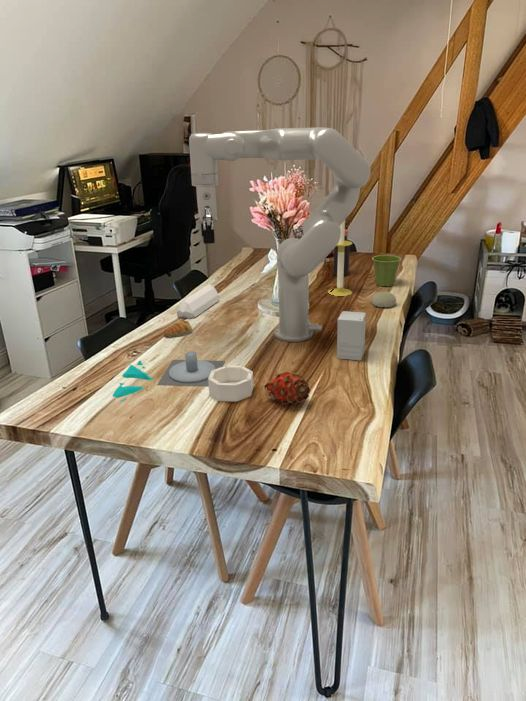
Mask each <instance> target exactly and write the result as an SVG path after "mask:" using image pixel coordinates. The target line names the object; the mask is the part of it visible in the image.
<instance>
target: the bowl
mask: <svg viewBox="0 0 526 701" xmlns="http://www.w3.org/2000/svg"><path fill="white" fill-rule="evenodd" d="M208 384H209V387H208V394H209V396H211V397H212V398H214V399H215V400H217V401H219V402H239V401H242V400H245V399H247V398H249V397H251V396H252V394H253V390H254V372H253V371H252V370H251V369H249V368H247V367H245V366H243V365H223V367H221V368H218V369H215V370H212V371H211V373H210V376H209V378H208Z"/></svg>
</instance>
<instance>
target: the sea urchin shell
mask: <svg viewBox="0 0 526 701" xmlns="http://www.w3.org/2000/svg"><path fill="white" fill-rule="evenodd" d="M370 301H371V304H372V305H373V306H374V307H376V306H377V308H383V307H385V308H387V307H389V308H391V307H393V306H395V305H396V303H397V297H396V296H395V294H393V293H392V292H390V291H385V290H383V291H382V290H381V291H378V292H375V293H374V294H373V295H372V296H371V300H370ZM387 309H388V308H387Z"/></svg>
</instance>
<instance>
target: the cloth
mask: <svg viewBox="0 0 526 701" xmlns="http://www.w3.org/2000/svg"><path fill="white" fill-rule="evenodd" d="M136 366H141V367H142V369H146V367H145V366H144V364H143V363H142V360H139V361H137V363H136ZM136 366H135V365H132V364H130V365H129V367H128V368H127V369H126V371H124V373H123V374H122V378H126V379H138V380H146V381H151V380H154V379H155V377H150V376H149V375H147V373H146V372H144V371H142V370H141V369H139V368H137V367H136ZM125 384H126V383H124V382H119V386H118V387H117V388H116V389H115V391H114V392H113V394H112V397H113V398H118V399H119V398H123V397H124V398H123V399H121V400H120V403H122V402H124V401H126V400H127V397H125V396H128V395H131V394H133V396H134V395H135V396H136V394H135V393H138V392H140V391H141V390H143V389H145V387H144V386H137V385H128V386H127V385H126V386H122V385H125Z"/></svg>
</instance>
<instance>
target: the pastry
mask: <svg viewBox="0 0 526 701" xmlns="http://www.w3.org/2000/svg"><path fill="white" fill-rule="evenodd" d="M192 333H193V328H192V326H191V323H190V321H188V320H182V321H178V322H175V323H173V324H172V325H170V326H168V327H167V328H165V329H164V331H163V336H165V337H168V338H175V337H181V336H182V337H183V336H186V335H189V334H190V335H191V334H192Z"/></svg>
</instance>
